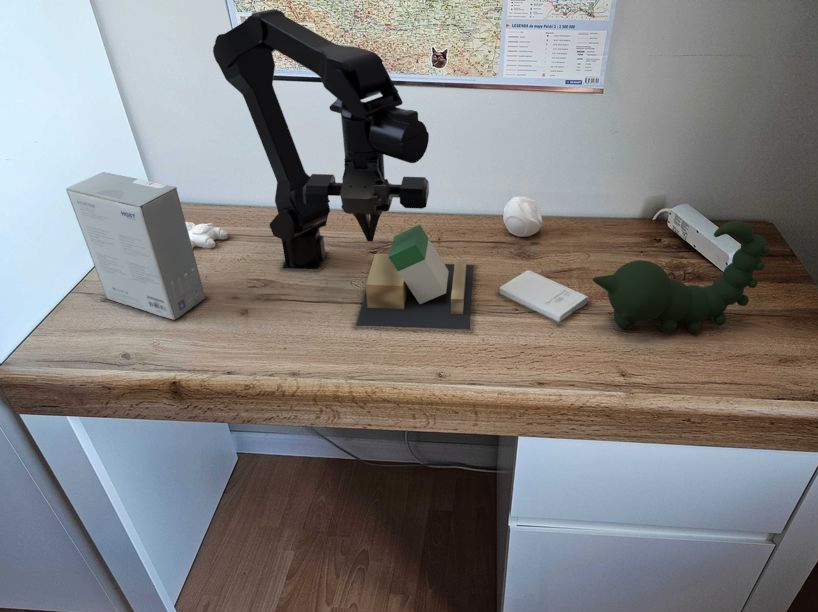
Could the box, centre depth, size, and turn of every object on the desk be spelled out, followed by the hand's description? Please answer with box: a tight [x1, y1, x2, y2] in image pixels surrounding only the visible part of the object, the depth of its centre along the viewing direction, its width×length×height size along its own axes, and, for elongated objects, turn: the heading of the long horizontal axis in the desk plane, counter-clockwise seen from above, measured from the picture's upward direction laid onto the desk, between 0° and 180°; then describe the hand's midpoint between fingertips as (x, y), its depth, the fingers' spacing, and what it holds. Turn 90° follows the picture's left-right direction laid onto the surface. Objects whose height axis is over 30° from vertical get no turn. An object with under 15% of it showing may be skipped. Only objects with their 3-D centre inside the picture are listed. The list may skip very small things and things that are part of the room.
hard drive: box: [498, 269, 589, 323], centre depth 112 cm, size 2×8×12 cm
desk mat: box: [355, 263, 474, 331], centre depth 113 cm, size 18×20×1 cm
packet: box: [388, 223, 449, 304], centre depth 110 cm, size 9×7×11 cm
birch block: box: [365, 253, 408, 309], centre depth 112 cm, size 6×10×4 cm, turn 177°
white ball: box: [502, 195, 544, 238], centre depth 128 cm, size 8×8×8 cm
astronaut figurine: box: [185, 221, 229, 250], centre depth 128 cm, size 9×12×3 cm
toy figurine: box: [592, 220, 771, 334], centre depth 101 cm, size 9×19×25 cm
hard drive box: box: [65, 171, 206, 321], centre depth 106 cm, size 16×8×20 cm, turn 65°
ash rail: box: [451, 260, 467, 315], centre depth 112 cm, size 2×12×3 cm, turn 177°
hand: (370, 240), depth 108 cm, fingers closed
